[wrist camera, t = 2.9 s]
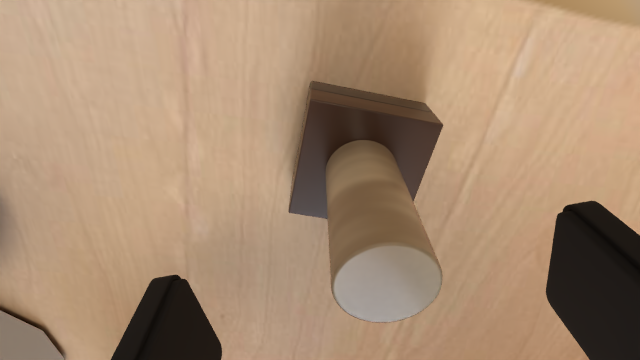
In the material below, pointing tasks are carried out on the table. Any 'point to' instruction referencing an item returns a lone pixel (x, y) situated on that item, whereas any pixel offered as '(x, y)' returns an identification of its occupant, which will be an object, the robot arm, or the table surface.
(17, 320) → the flask
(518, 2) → the table surface
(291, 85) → the table surface
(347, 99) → the peg on square base
